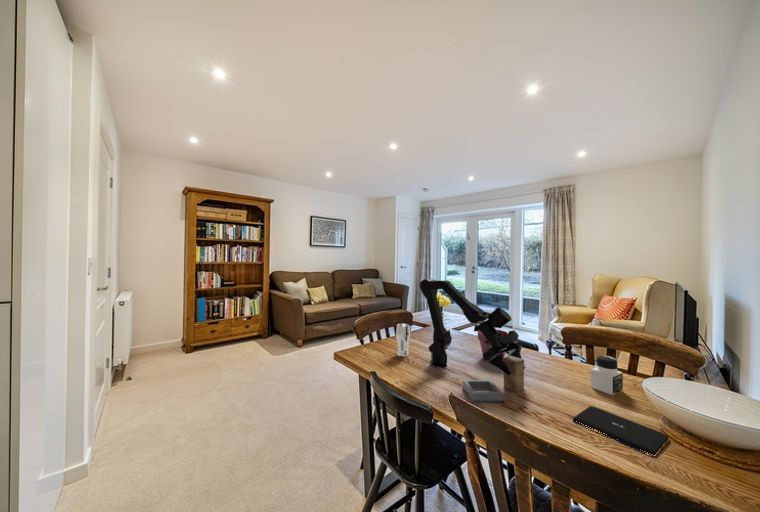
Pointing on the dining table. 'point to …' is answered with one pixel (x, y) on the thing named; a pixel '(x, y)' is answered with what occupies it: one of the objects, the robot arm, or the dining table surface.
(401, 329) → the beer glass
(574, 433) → the dining table surface
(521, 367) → the walnut block
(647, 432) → the laptop
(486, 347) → the plant pot
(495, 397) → the holder box
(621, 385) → the medicine bottle
